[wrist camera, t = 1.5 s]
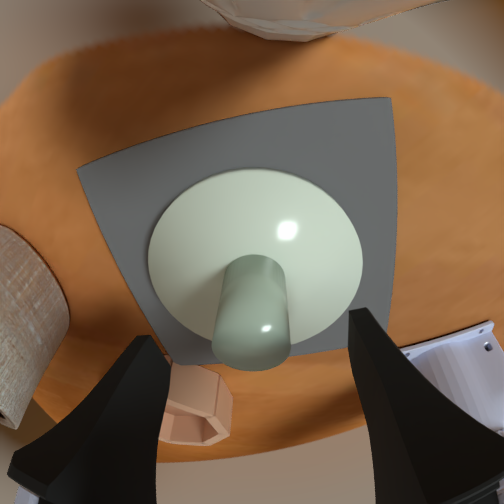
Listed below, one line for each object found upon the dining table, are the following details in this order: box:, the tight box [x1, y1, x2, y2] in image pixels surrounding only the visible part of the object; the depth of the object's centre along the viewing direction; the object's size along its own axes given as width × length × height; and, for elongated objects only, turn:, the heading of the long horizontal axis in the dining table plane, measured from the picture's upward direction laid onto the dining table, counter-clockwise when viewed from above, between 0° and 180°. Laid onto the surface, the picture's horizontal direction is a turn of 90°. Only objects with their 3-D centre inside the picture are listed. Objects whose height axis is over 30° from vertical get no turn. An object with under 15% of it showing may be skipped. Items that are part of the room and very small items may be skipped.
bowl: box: [158, 355, 233, 446], centre depth 20 cm, size 9×9×4 cm
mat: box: [76, 97, 397, 365], centre depth 14 cm, size 14×14×1 cm
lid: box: [148, 167, 363, 371], centre depth 12 cm, size 10×10×5 cm
